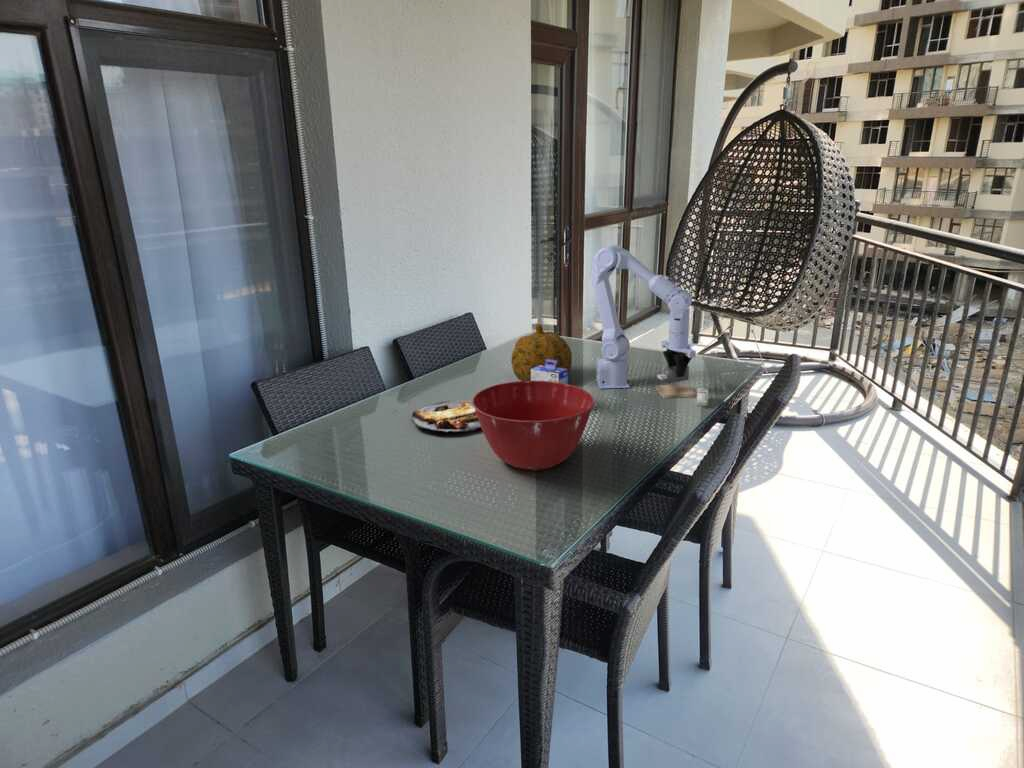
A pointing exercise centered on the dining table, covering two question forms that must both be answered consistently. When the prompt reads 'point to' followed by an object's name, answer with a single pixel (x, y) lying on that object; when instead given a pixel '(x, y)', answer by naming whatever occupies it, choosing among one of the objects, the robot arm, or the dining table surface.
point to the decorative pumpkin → (539, 352)
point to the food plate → (447, 416)
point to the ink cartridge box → (549, 373)
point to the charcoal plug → (673, 375)
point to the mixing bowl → (533, 421)
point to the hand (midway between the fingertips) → (676, 375)
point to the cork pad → (675, 391)
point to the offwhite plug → (702, 397)
